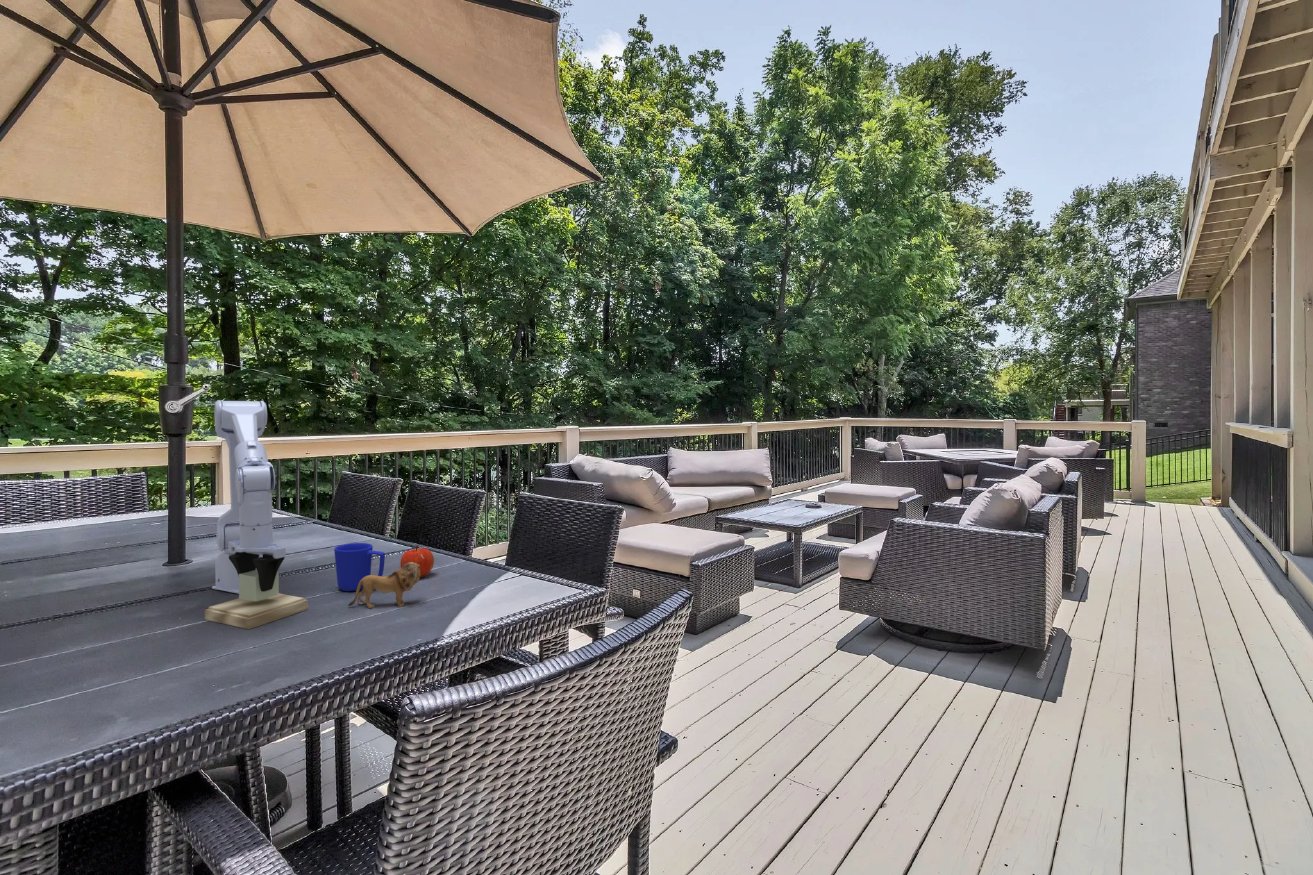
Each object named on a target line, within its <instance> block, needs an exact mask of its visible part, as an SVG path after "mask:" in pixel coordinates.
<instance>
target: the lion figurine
mask: <svg viewBox="0 0 1313 875" xmlns="http://www.w3.org/2000/svg"><path fill="white" fill-rule="evenodd" d="M419 568H420V565H417V563H414V562H409V563H407V564H405V565H404V566H403V567H402V568H401V567H400V568H399V569H397V570H395V571H393V572H392V573H391V574H389V575H387V576H383V575H382V576H378V575H374V574H371V575H368V576H365V577H364V578H362V579H361V581H360V582H359V584H358V587H357V591H355V596H354V598H353V600H352V601H350V603H348V605H347V606H348V607H350V606H353V605H354V604H355V603H356V602H357V604H358V605H364V604H366V607H367V608H368V609H374V608H375V605H374V604H373V603H371V601H370V598H371V597H372V594H373V591H374V590H375V591H377V592H379V593H382V594H390V593H395V602H396V603H397V606H398V607H404V606H405V603H404V600H403V593H404V592H408V591H411V589H412V588H413V587H414V585H416V584H417V583H418V582H419V580H420V579H421V577H420V569H419ZM361 585H363V589H361V590H360V588H361ZM364 596H365V598H364ZM363 598H364V600H362V599H363Z"/></svg>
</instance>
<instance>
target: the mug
mask: <svg viewBox="0 0 1313 875" xmlns="http://www.w3.org/2000/svg"><path fill="white" fill-rule="evenodd" d="M373 547H374V546H373V545H372V544H371V543H366V542H354V543H353V542H351V543H346V544H340V545H337V546H335V547H334V549H333V550H334V562H335V571H336V582H337V587H338V588H339V590H341V591H344V592H356V591H357V587H358V584H359V582H360V581H361V579H362V578H364V577H365V576H368V575H372V574H371V573H372V571H371V570H372V561H373V560H372V559H373V555H377V556H379V568H378V575H377V576H382V577H383V575H384V570H385V569H384V568H385V560H386V558H385V557H386V553H385V552H384V551H379V550H373ZM362 590H363V585H361V588H360V591H362Z"/></svg>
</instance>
